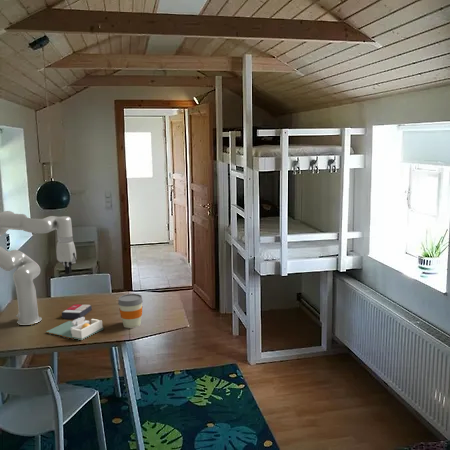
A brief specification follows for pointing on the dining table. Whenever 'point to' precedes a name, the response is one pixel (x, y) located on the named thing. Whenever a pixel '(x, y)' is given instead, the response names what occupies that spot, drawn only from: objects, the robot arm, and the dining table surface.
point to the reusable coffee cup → (130, 309)
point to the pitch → (67, 330)
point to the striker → (79, 323)
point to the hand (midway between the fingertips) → (68, 273)
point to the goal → (87, 329)
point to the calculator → (76, 311)
